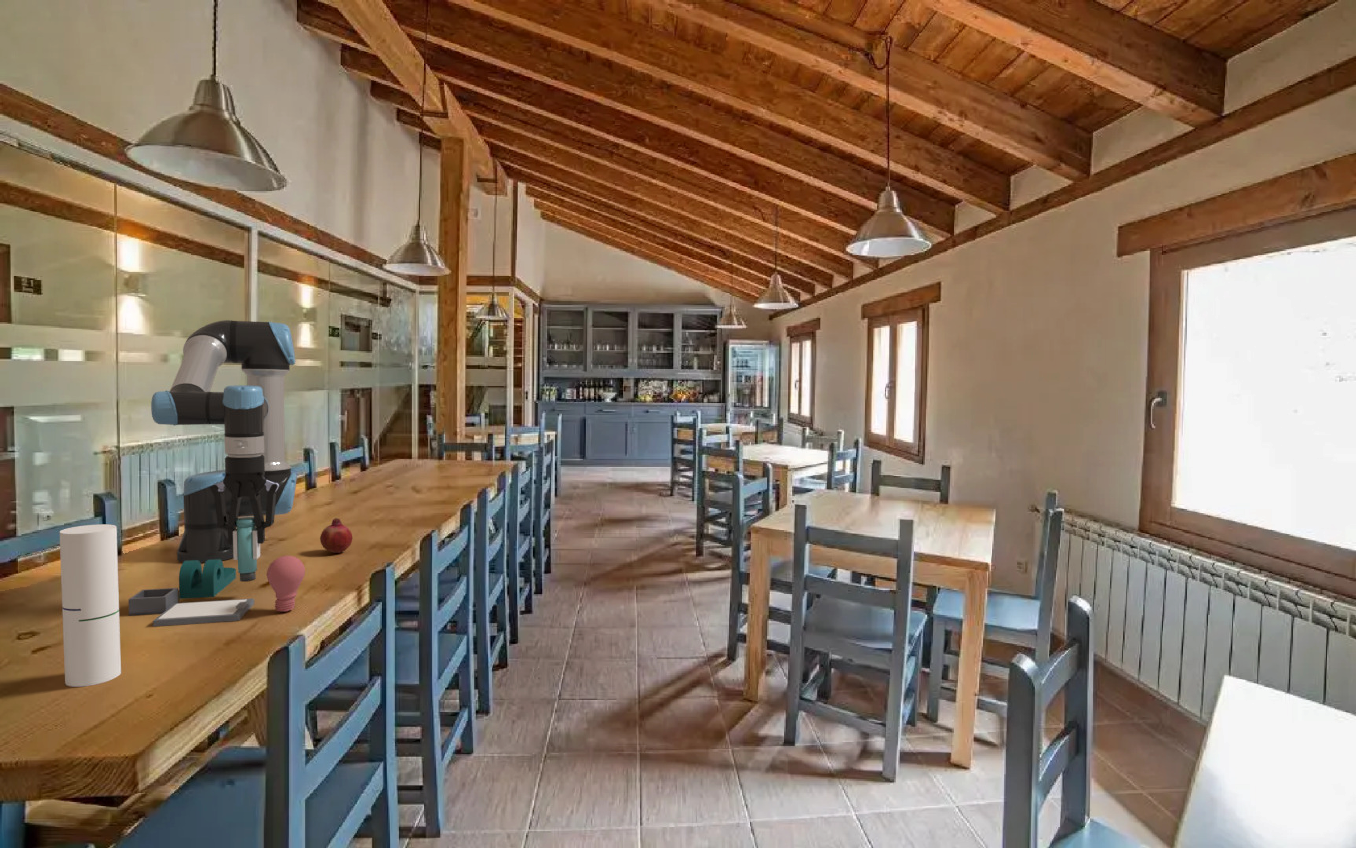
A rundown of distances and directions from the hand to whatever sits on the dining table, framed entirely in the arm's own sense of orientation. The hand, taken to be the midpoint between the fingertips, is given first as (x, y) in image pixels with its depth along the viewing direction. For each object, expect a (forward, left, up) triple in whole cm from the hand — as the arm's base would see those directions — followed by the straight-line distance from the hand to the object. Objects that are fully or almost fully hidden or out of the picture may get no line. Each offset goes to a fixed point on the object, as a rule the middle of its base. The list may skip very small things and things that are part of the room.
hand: (247, 557), depth 158 cm
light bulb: (+12, +11, -9) cm, 18 cm away
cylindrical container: (+41, -12, -9) cm, 43 cm away
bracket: (-11, -11, -10) cm, 18 cm away
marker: (0, 0, -5) cm, 5 cm away
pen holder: (+5, -16, -9) cm, 19 cm away
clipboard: (+11, -5, -9) cm, 15 cm away
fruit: (-38, +12, -9) cm, 41 cm away
